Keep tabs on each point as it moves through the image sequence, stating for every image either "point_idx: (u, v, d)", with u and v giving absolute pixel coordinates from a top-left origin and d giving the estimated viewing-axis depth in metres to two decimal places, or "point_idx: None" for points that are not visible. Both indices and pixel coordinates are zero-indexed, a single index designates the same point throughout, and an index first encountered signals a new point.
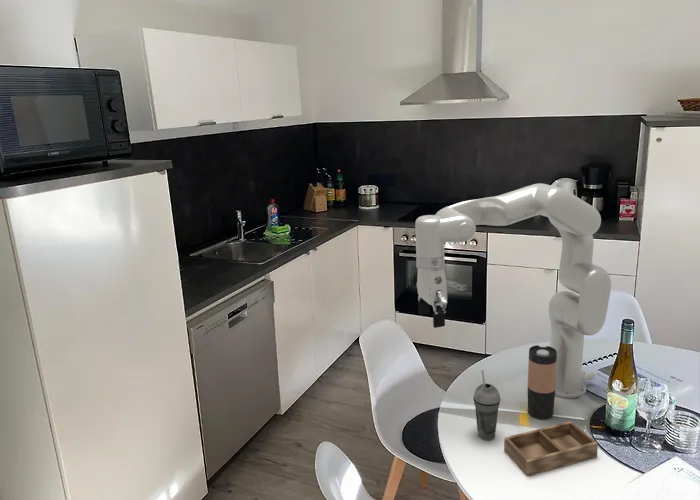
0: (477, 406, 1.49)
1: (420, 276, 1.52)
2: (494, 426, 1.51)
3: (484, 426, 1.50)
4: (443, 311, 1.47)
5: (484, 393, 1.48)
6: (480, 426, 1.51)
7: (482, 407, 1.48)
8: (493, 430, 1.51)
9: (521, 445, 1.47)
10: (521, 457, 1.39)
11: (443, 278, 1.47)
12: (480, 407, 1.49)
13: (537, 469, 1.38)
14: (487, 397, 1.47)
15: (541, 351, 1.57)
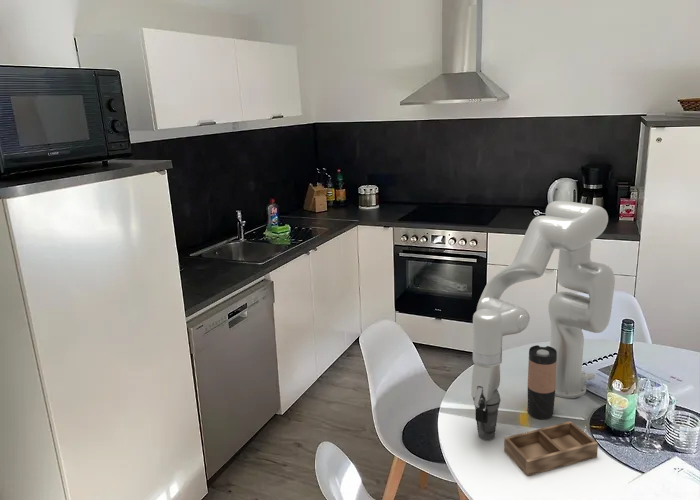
0: None
1: (494, 374, 1.46)
2: (494, 426, 1.51)
3: (484, 426, 1.50)
4: None
5: None
6: (480, 426, 1.51)
7: None
8: (493, 430, 1.51)
9: (521, 445, 1.47)
10: (521, 457, 1.39)
11: None
12: None
13: (537, 469, 1.38)
14: None
15: (541, 351, 1.57)
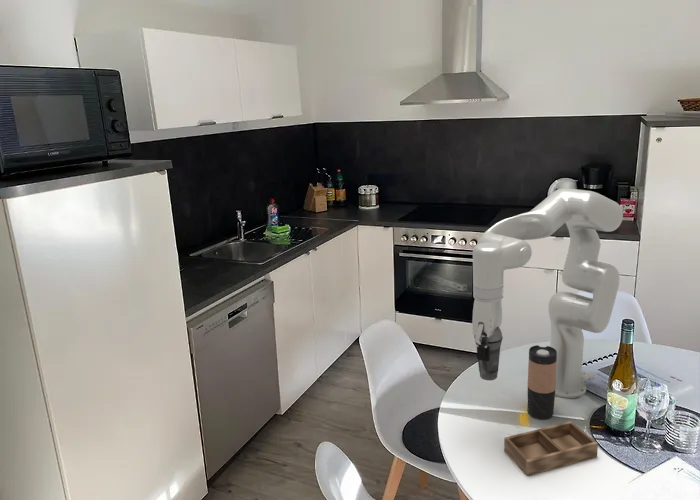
0: None
1: (495, 310, 1.41)
2: (496, 365, 1.46)
3: (486, 365, 1.46)
4: None
5: None
6: (482, 365, 1.46)
7: None
8: (495, 369, 1.46)
9: (521, 445, 1.47)
10: (521, 457, 1.39)
11: None
12: None
13: (537, 469, 1.38)
14: None
15: (541, 351, 1.57)
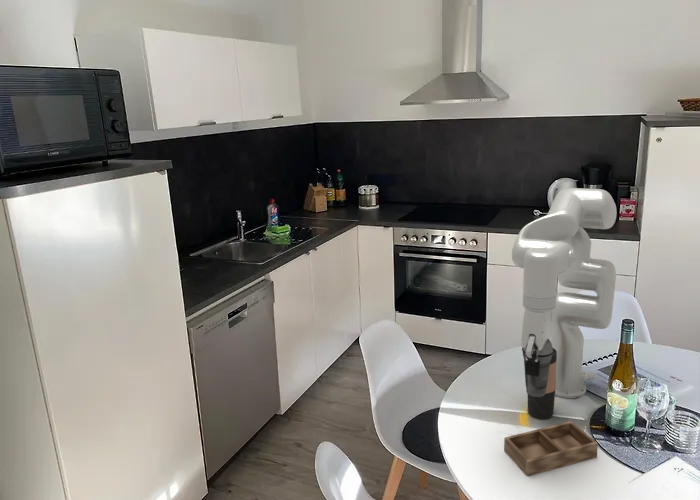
0: None
1: (547, 321, 1.30)
2: (545, 381, 1.35)
3: (534, 380, 1.35)
4: None
5: None
6: (530, 380, 1.35)
7: None
8: (544, 385, 1.35)
9: (521, 445, 1.47)
10: (521, 457, 1.39)
11: None
12: None
13: (537, 469, 1.38)
14: None
15: None
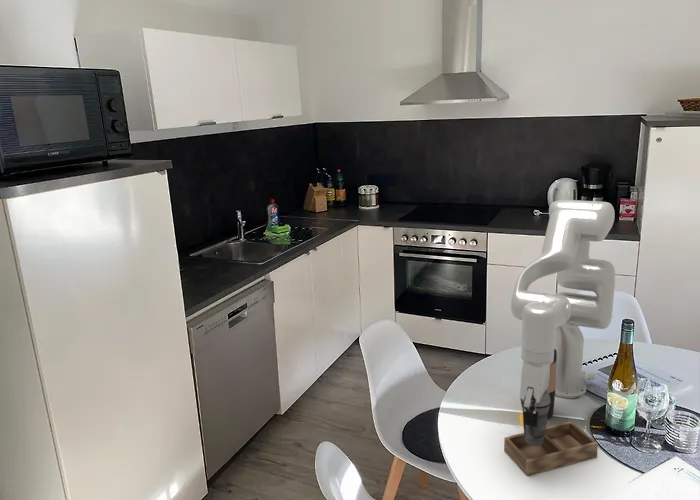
0: None
1: (545, 373, 1.34)
2: (543, 430, 1.39)
3: (533, 430, 1.38)
4: None
5: None
6: (528, 430, 1.39)
7: None
8: (542, 434, 1.39)
9: (521, 445, 1.47)
10: (521, 457, 1.39)
11: None
12: None
13: (537, 469, 1.38)
14: None
15: None
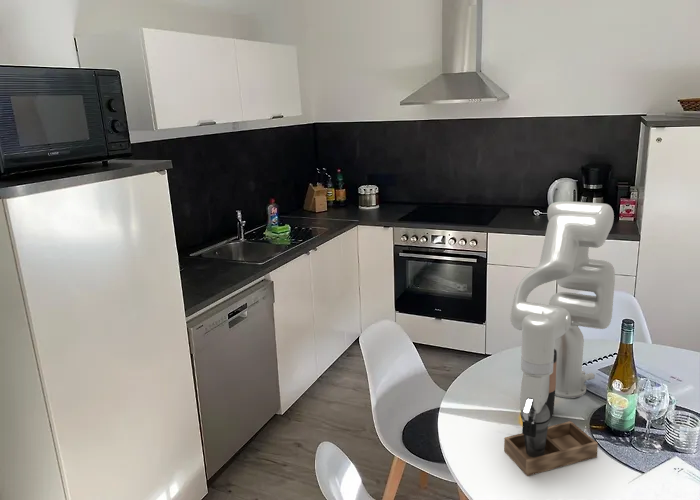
0: None
1: (545, 384, 1.35)
2: (544, 443, 1.41)
3: (533, 444, 1.41)
4: None
5: None
6: (529, 443, 1.42)
7: None
8: (543, 447, 1.42)
9: (521, 445, 1.47)
10: (521, 457, 1.39)
11: None
12: None
13: (537, 469, 1.38)
14: (537, 415, 1.37)
15: None
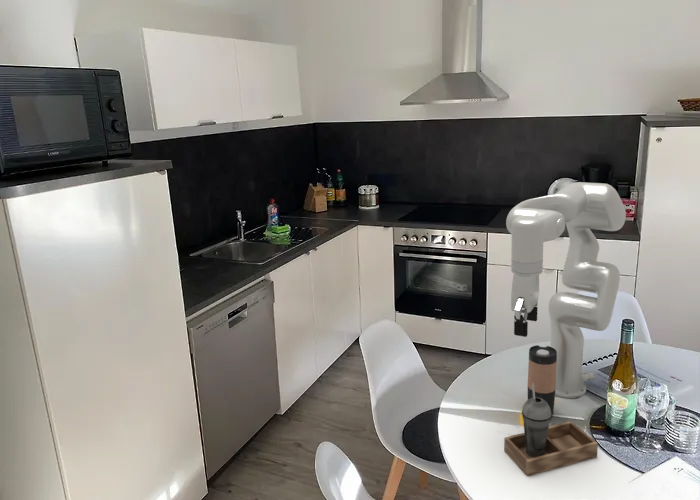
0: (527, 422, 1.40)
1: (535, 284, 1.38)
2: (544, 443, 1.42)
3: (534, 443, 1.41)
4: None
5: (534, 407, 1.39)
6: (529, 442, 1.42)
7: (533, 423, 1.39)
8: (543, 447, 1.42)
9: (521, 445, 1.47)
10: (521, 457, 1.39)
11: None
12: (530, 423, 1.39)
13: (537, 469, 1.38)
14: (538, 412, 1.38)
15: (541, 351, 1.57)
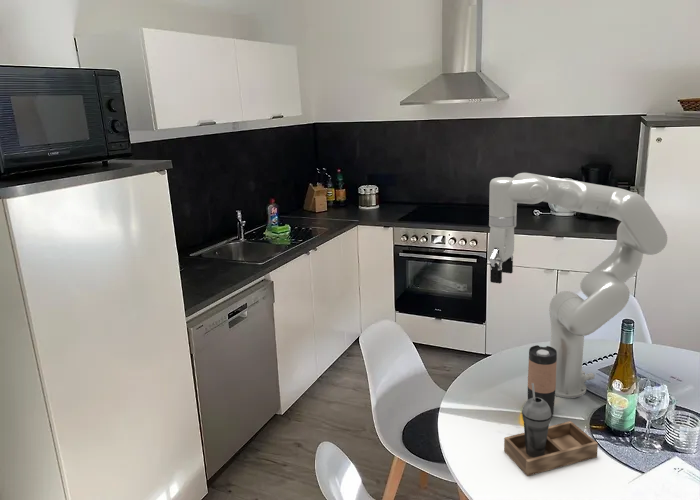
0: (527, 422, 1.40)
1: (509, 237, 1.58)
2: (544, 443, 1.42)
3: (534, 443, 1.41)
4: None
5: (534, 407, 1.39)
6: (529, 442, 1.42)
7: (533, 423, 1.39)
8: (543, 447, 1.42)
9: (521, 445, 1.47)
10: (521, 457, 1.39)
11: None
12: (530, 423, 1.39)
13: (537, 469, 1.38)
14: (538, 412, 1.38)
15: (541, 351, 1.57)
